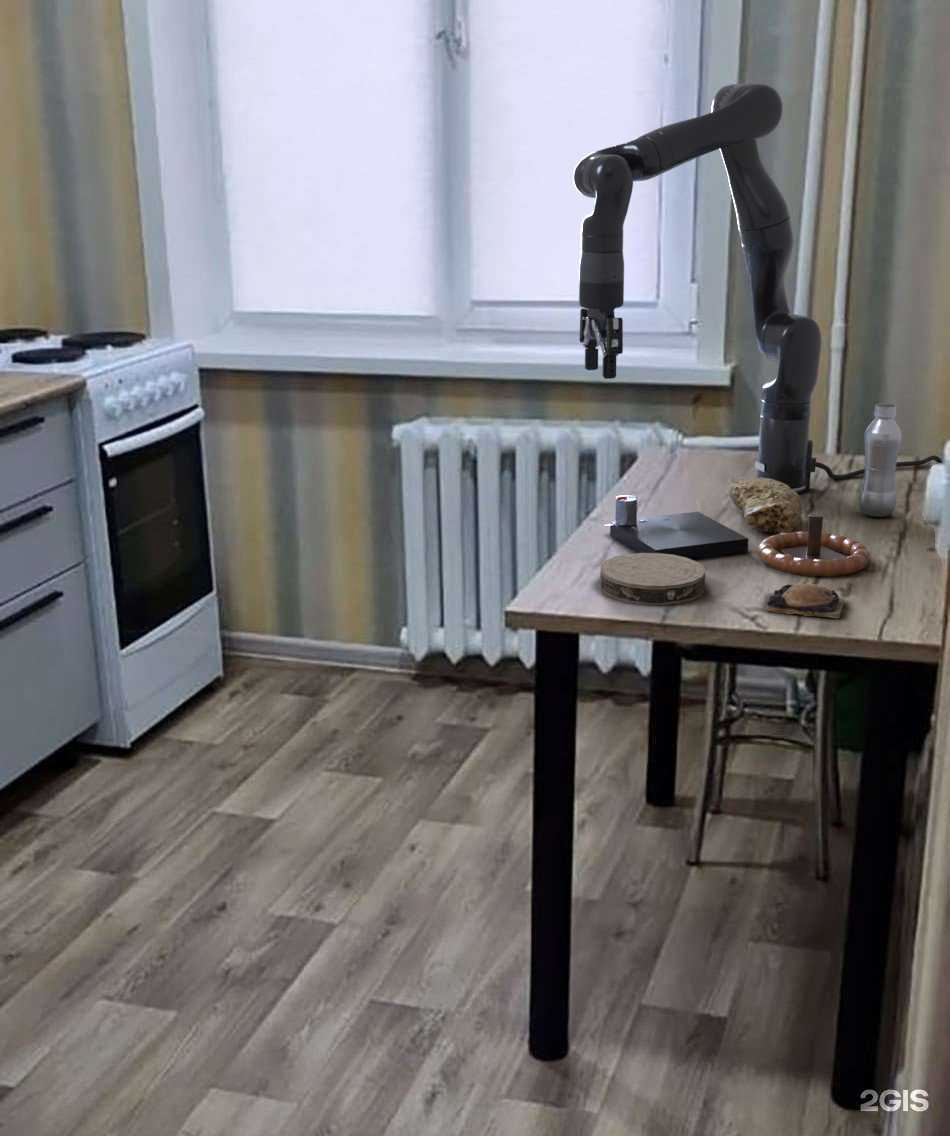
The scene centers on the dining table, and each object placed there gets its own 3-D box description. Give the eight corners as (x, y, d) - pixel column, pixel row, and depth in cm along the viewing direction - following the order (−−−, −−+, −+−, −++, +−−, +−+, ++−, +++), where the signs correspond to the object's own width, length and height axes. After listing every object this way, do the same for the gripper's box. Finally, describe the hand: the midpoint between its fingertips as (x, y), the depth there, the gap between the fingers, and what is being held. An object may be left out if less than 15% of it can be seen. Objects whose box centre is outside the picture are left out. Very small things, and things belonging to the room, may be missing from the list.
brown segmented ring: (828, 539, 231) (829, 525, 230) (891, 570, 216) (892, 555, 215) (737, 551, 225) (738, 536, 225) (796, 583, 210) (797, 568, 209)
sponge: (805, 543, 233) (806, 490, 250) (799, 503, 229) (800, 452, 246) (727, 551, 237) (733, 499, 254) (721, 512, 233) (727, 461, 250)
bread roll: (845, 602, 202) (847, 579, 201) (838, 621, 195) (840, 597, 194) (773, 593, 206) (775, 570, 205) (763, 612, 198) (765, 588, 197)
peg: (819, 551, 225) (823, 506, 223) (848, 565, 218) (852, 519, 216) (777, 556, 223) (780, 511, 220) (805, 571, 216) (808, 524, 213)
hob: (692, 522, 242) (693, 507, 241) (747, 552, 225) (748, 537, 224) (595, 533, 236) (595, 519, 235) (644, 566, 219) (645, 550, 218)
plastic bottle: (895, 511, 247) (906, 402, 240) (893, 522, 241) (904, 410, 234) (858, 508, 249) (868, 400, 242) (856, 519, 243) (865, 408, 236)
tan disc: (707, 574, 215) (708, 556, 214) (700, 608, 200) (701, 589, 199) (607, 567, 218) (607, 549, 217) (592, 601, 203) (593, 582, 202)
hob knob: (630, 519, 235) (631, 492, 233) (640, 525, 231) (641, 497, 230) (611, 521, 234) (612, 494, 232) (620, 527, 230) (621, 499, 229)
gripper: (638, 282, 224) (636, 379, 229) (607, 272, 237) (605, 365, 242) (595, 284, 222) (594, 383, 227) (566, 274, 235) (565, 368, 240)
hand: (600, 373), depth 235 cm, fingers open, 8 cm apart
